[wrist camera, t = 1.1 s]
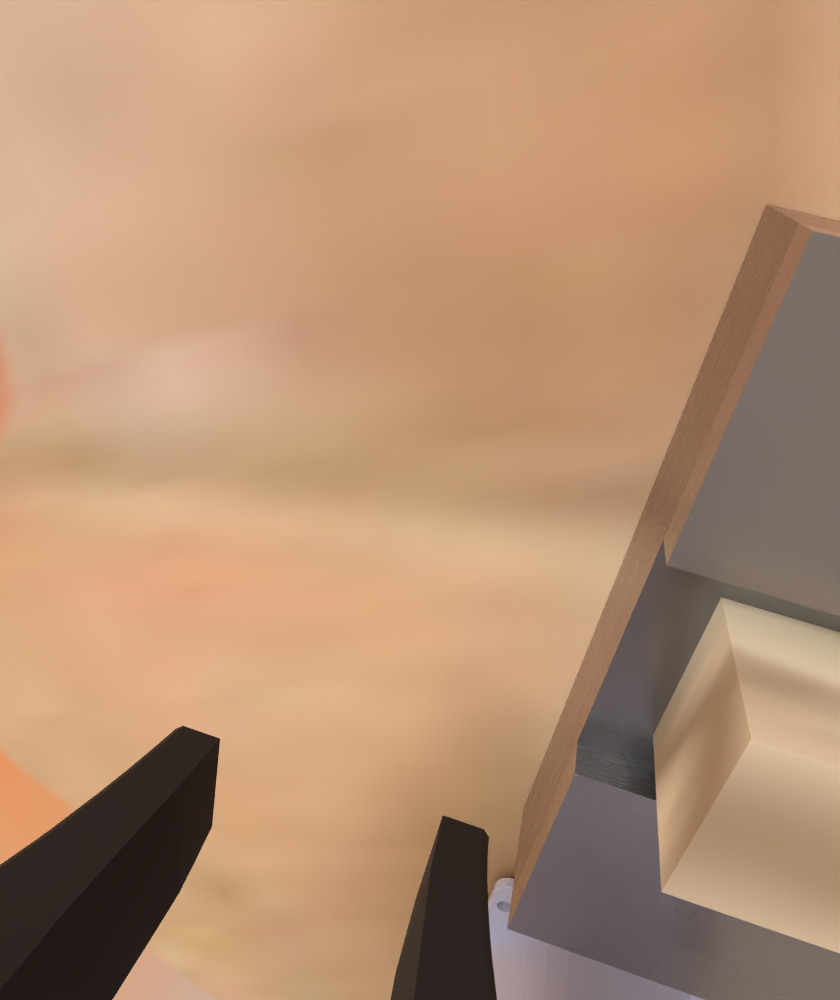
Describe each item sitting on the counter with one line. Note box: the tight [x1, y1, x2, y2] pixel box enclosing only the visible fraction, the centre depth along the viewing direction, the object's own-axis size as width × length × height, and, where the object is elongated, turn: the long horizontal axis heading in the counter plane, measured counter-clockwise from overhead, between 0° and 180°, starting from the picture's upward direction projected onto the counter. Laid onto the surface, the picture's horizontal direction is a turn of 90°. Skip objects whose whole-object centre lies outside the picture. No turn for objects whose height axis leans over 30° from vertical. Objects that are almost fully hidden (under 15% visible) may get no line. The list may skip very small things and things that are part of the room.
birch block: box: [653, 597, 840, 953], centre depth 14 cm, size 4×4×4 cm
